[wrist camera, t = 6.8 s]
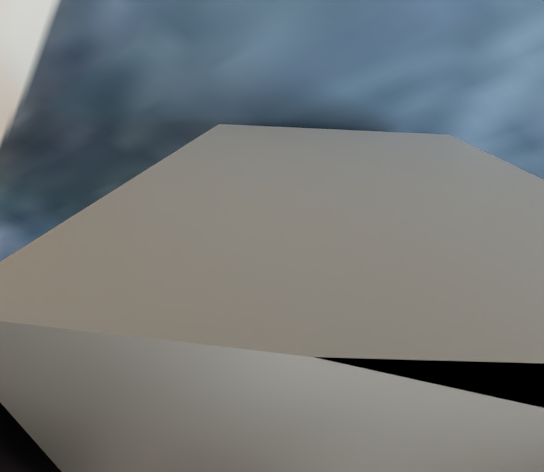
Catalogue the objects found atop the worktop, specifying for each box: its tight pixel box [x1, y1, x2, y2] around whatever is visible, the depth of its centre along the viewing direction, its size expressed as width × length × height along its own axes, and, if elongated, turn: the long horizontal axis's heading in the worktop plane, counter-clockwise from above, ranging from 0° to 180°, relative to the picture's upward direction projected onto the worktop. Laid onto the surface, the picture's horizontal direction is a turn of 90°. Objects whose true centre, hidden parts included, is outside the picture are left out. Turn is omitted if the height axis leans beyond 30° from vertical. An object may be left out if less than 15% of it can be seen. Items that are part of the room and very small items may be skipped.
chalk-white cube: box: [0, 124, 544, 472], centre depth 8 cm, size 8×8×9 cm
